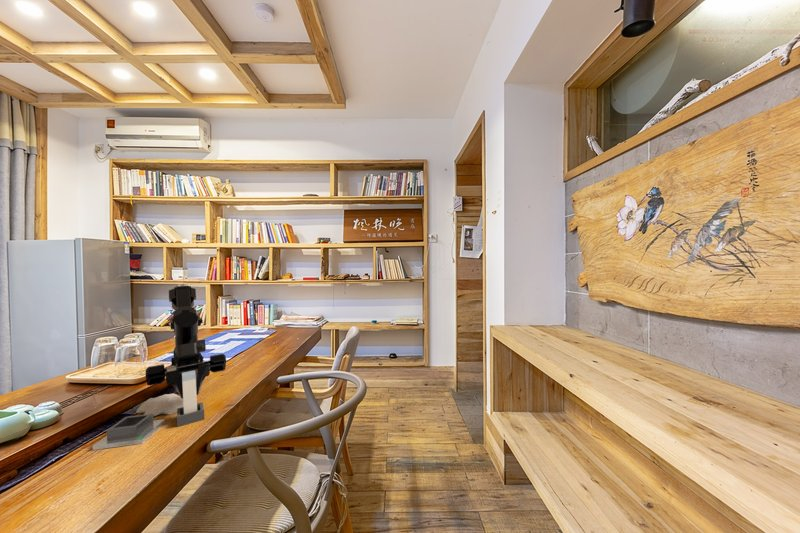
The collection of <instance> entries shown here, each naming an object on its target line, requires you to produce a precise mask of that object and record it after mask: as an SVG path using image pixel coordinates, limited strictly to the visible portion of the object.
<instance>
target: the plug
mask: <svg viewBox="0 0 800 533" xmlns="http://www.w3.org/2000/svg"><path fill="white" fill-rule="evenodd" d="M182 384H183V405H184V414H188V413H191V412H195V411H197V403H198V400H197V399H198V397H197V396H198V395H197V394H196V373H195V370H194V371H189V372H183V373H182Z"/></svg>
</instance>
